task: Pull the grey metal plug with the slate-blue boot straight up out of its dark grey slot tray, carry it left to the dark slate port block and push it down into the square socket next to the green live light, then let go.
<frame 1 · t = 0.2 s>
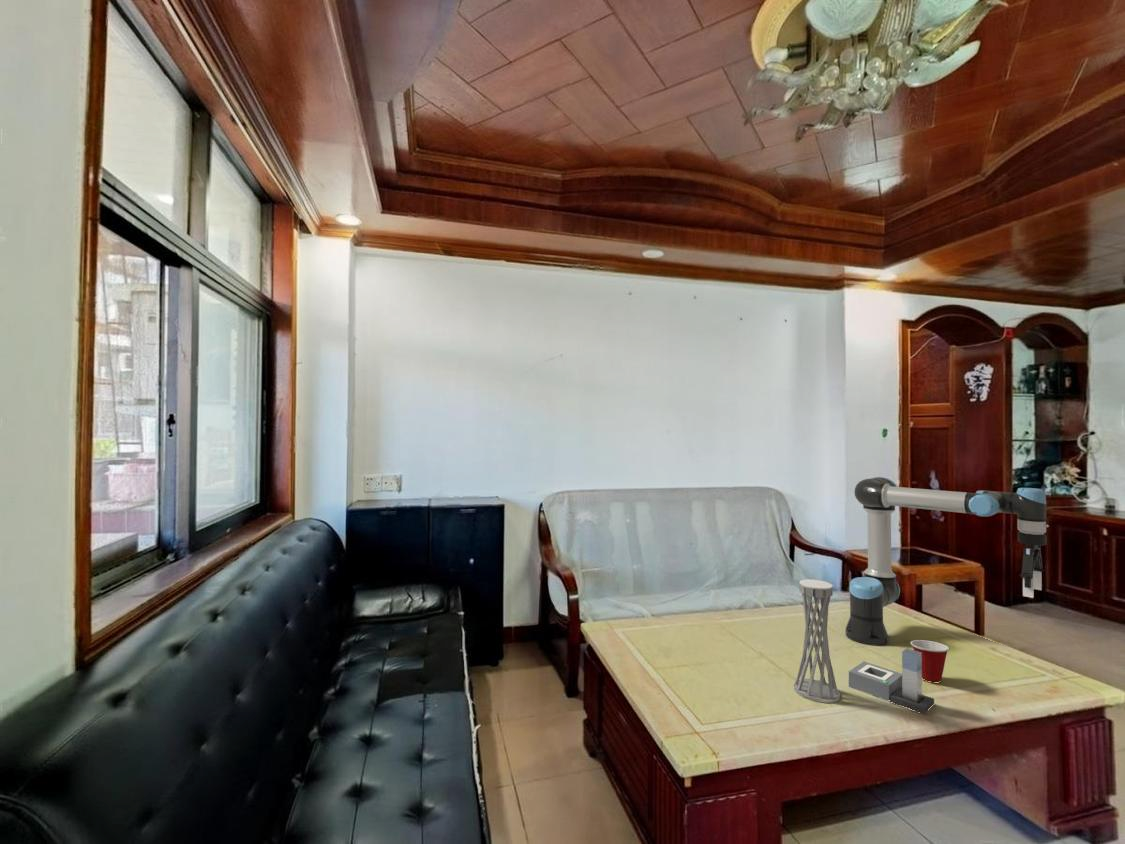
hand: (1032, 593, 182), 28 cm above the table, fingers open, 13 cm apart
plastic cup: (929, 679, 177), on the table
plug: (912, 700, 161), point 1 cm above the table, touching dark grey slot tray
grey tall lattice tower: (816, 692, 168), on the table
dark grey slot tray: (912, 703, 161), on the table
port: (875, 687, 171), on the table
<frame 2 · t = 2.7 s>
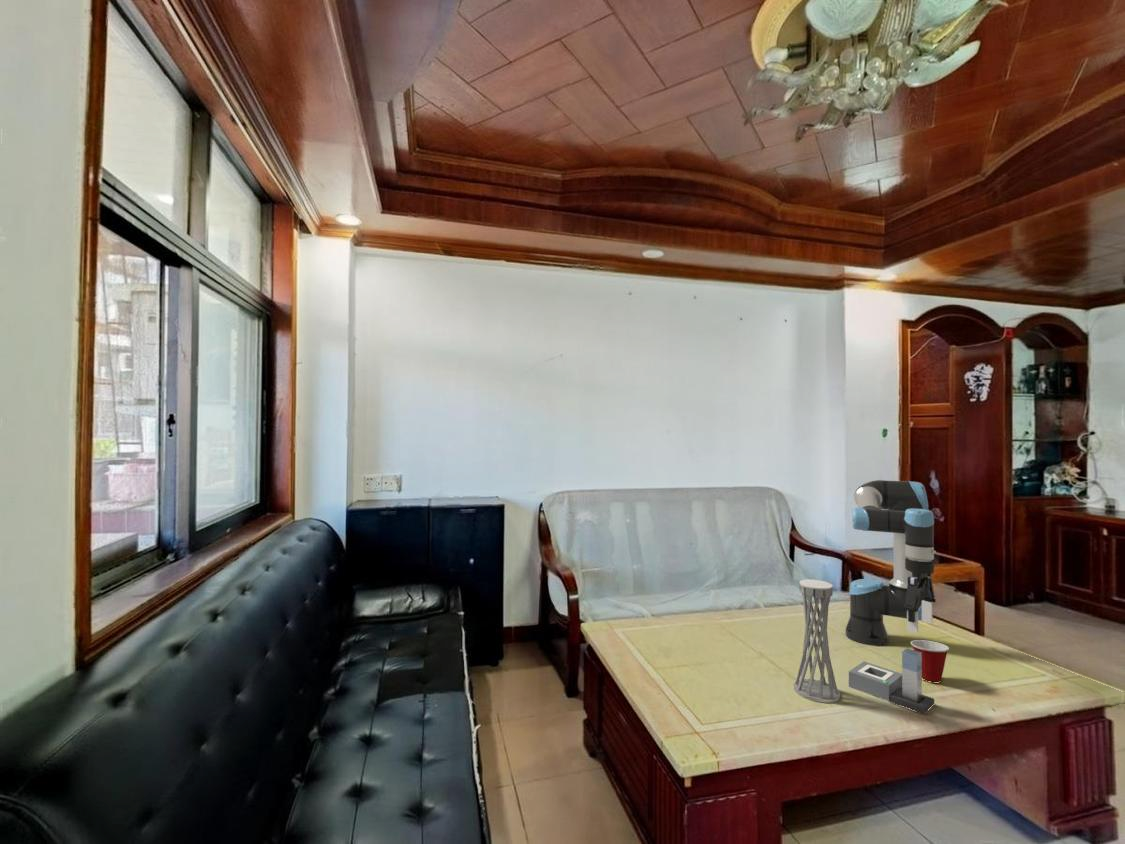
hand: (920, 627, 162), 23 cm above the table, fingers open, 13 cm apart
nothing on the table moved.
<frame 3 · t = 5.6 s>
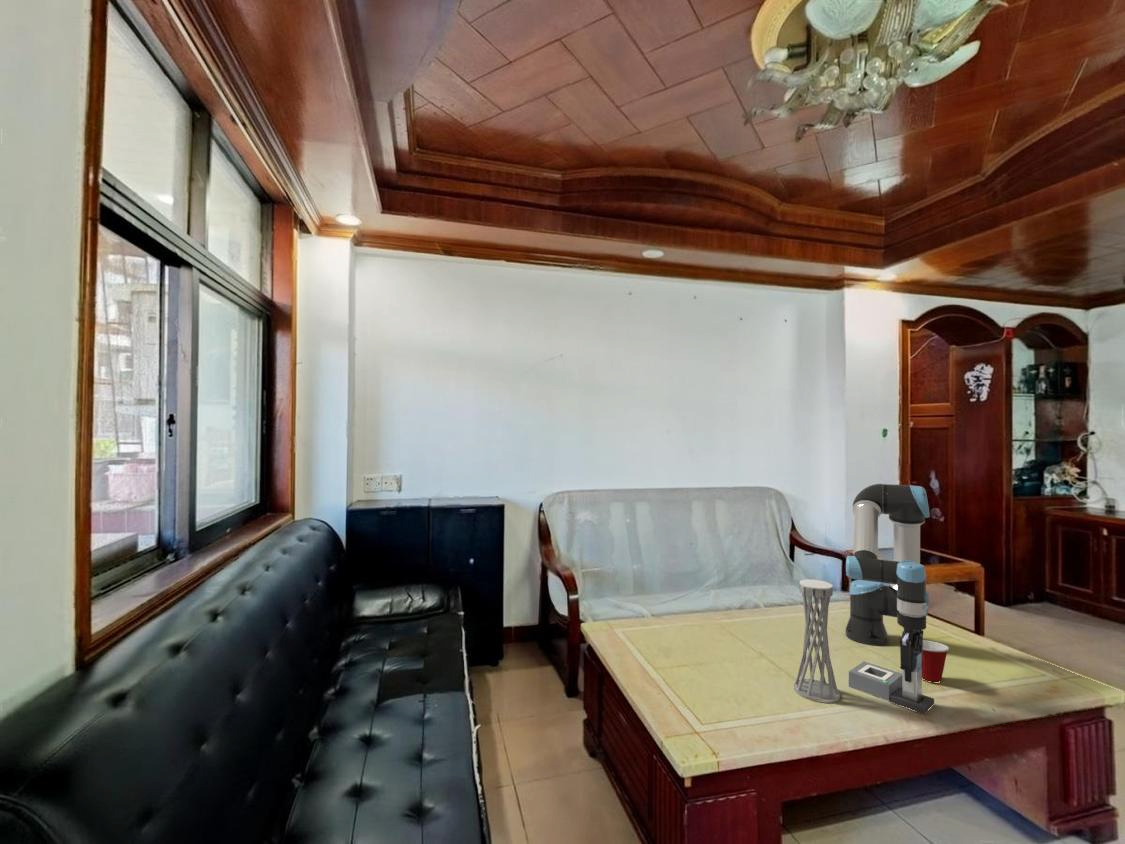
hand: (912, 688, 161), 5 cm above the table, fingers closed on plug, 4 cm apart
plug: (912, 700, 161), point 1 cm above the table, touching gripper, dark grey slot tray
everything else where it was.
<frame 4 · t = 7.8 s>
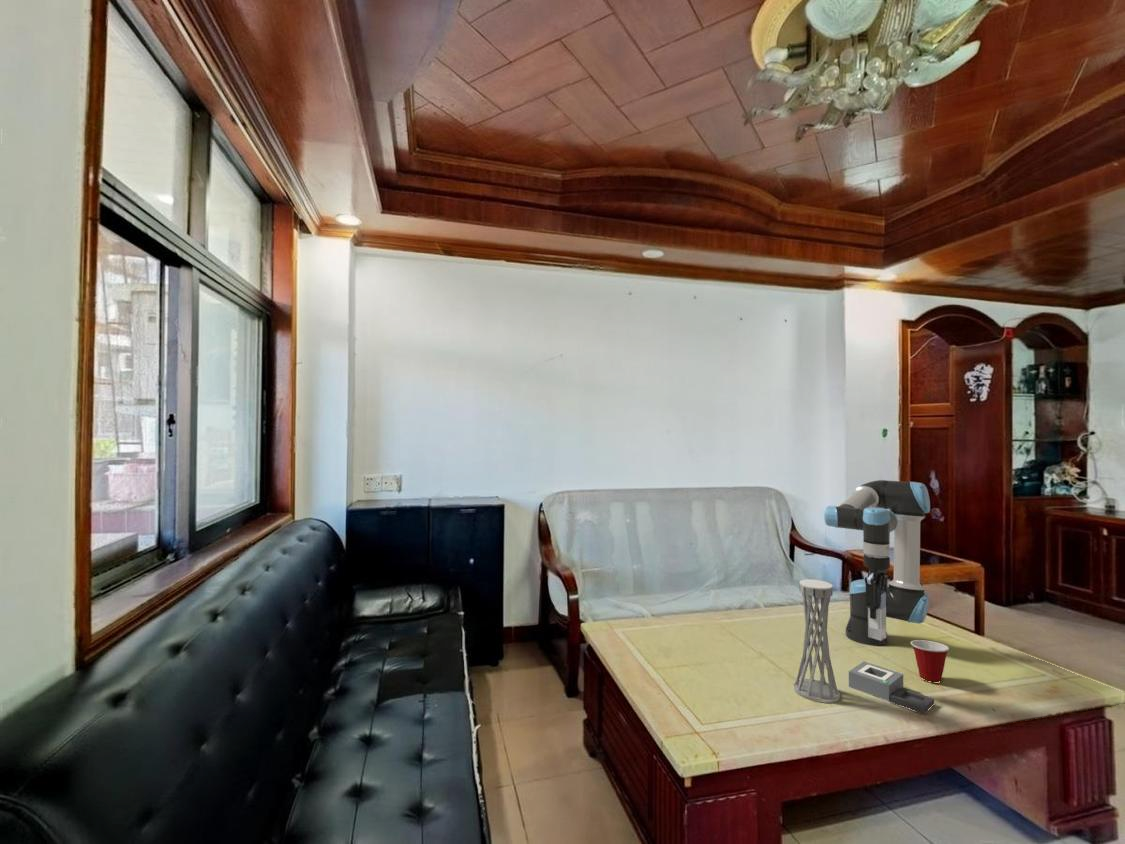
hand: (877, 626, 171), 20 cm above the table, fingers closed on plug, 4 cm apart
plug: (877, 637, 171), point 17 cm above the table, touching gripper
everything else where it was.
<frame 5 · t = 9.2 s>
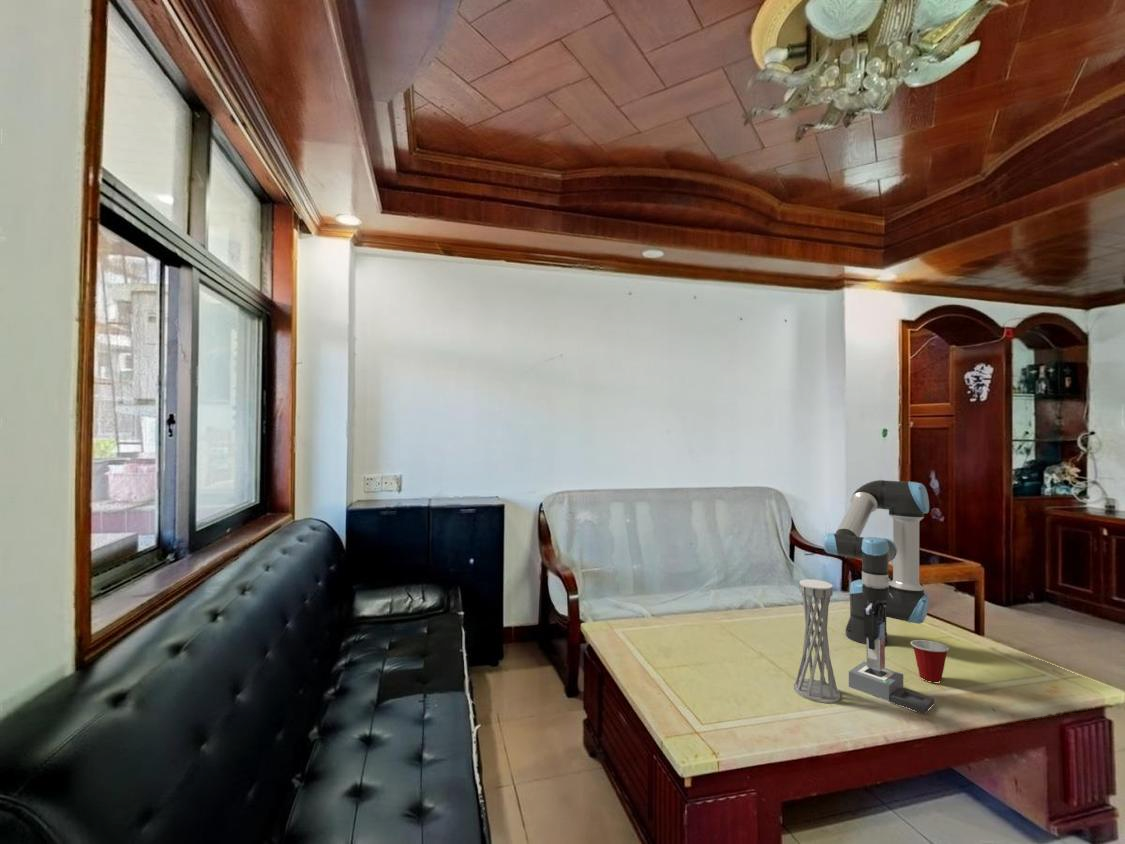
hand: (875, 656, 171), 10 cm above the table, fingers closed on plug, 4 cm apart
plug: (875, 667, 171), point 7 cm above the table, touching gripper
everything else where it was.
when the fingers open (7 cm above the table, at t = 10.1 s): plug drops 2 cm, resting on port.
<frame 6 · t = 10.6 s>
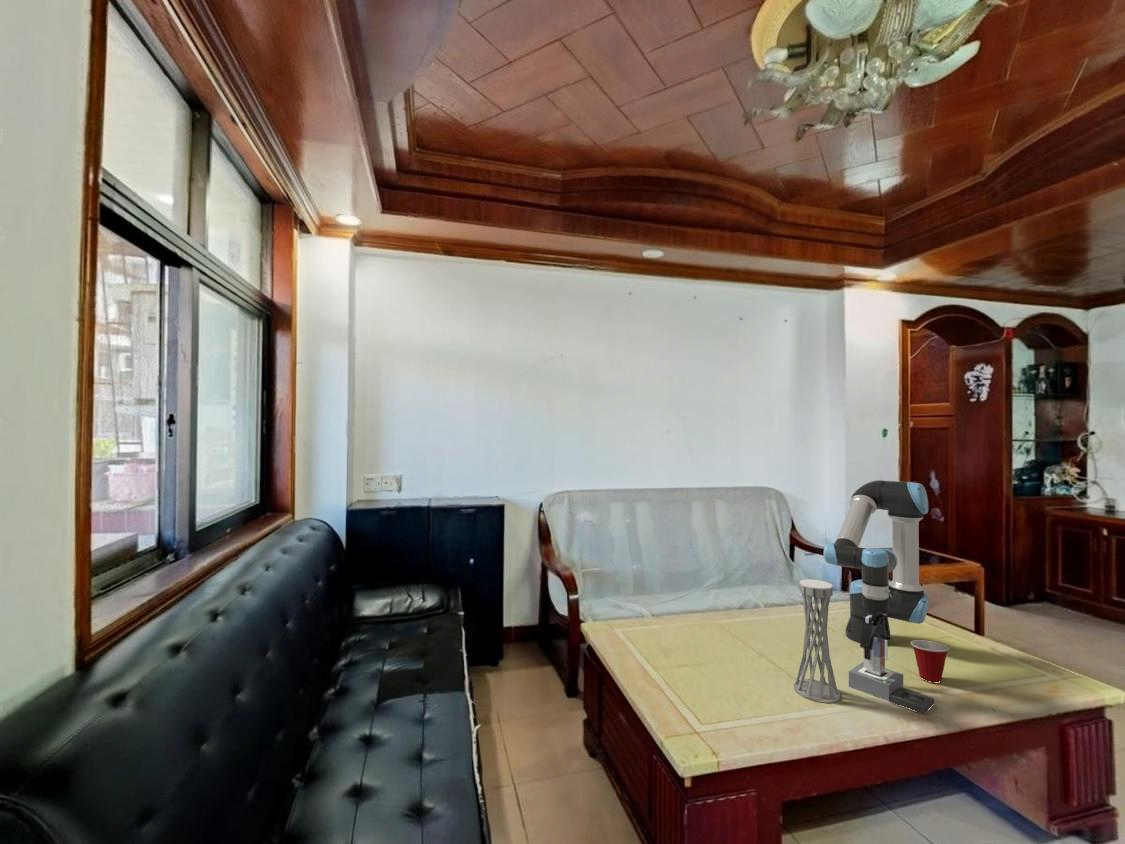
hand: (875, 663, 171), 8 cm above the table, fingers open, 11 cm apart
plug: (875, 684, 171), point 1 cm above the table, touching port
everything else where it was.
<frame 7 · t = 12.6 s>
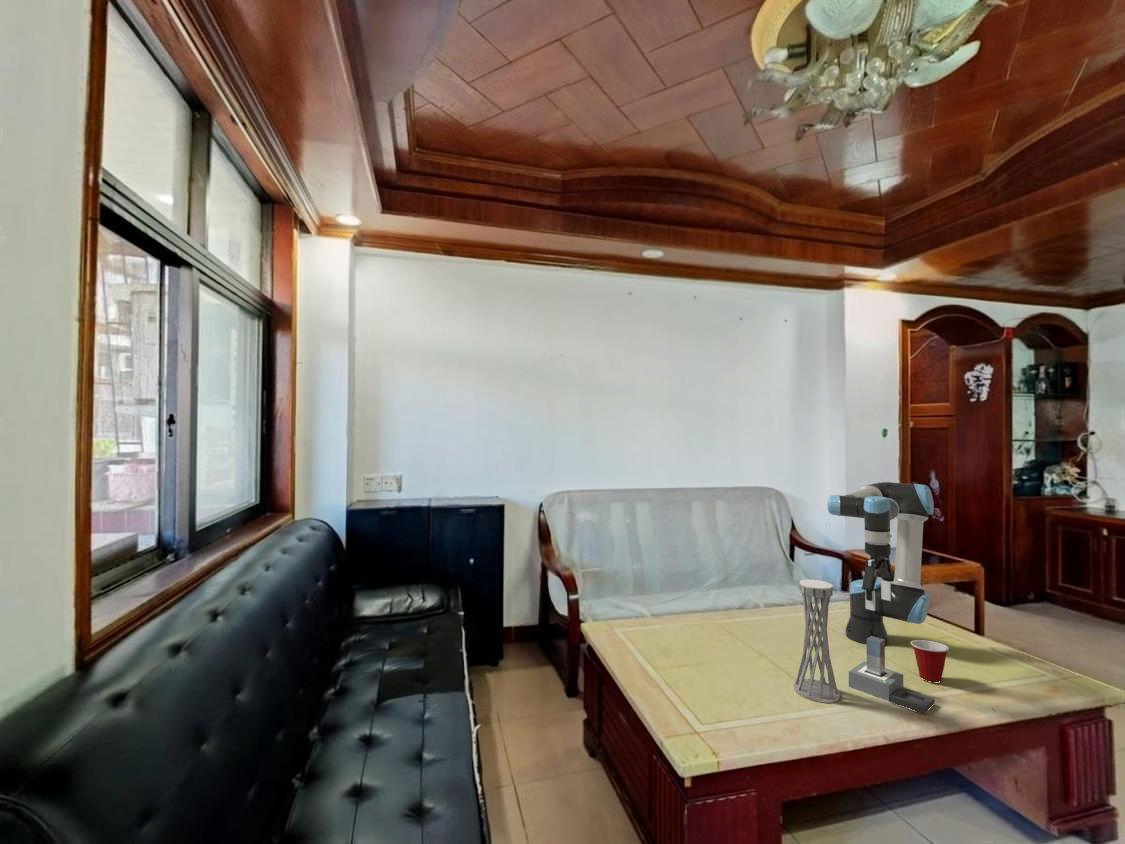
hand: (878, 604, 177), 26 cm above the table, fingers open, 13 cm apart
nothing on the table moved.
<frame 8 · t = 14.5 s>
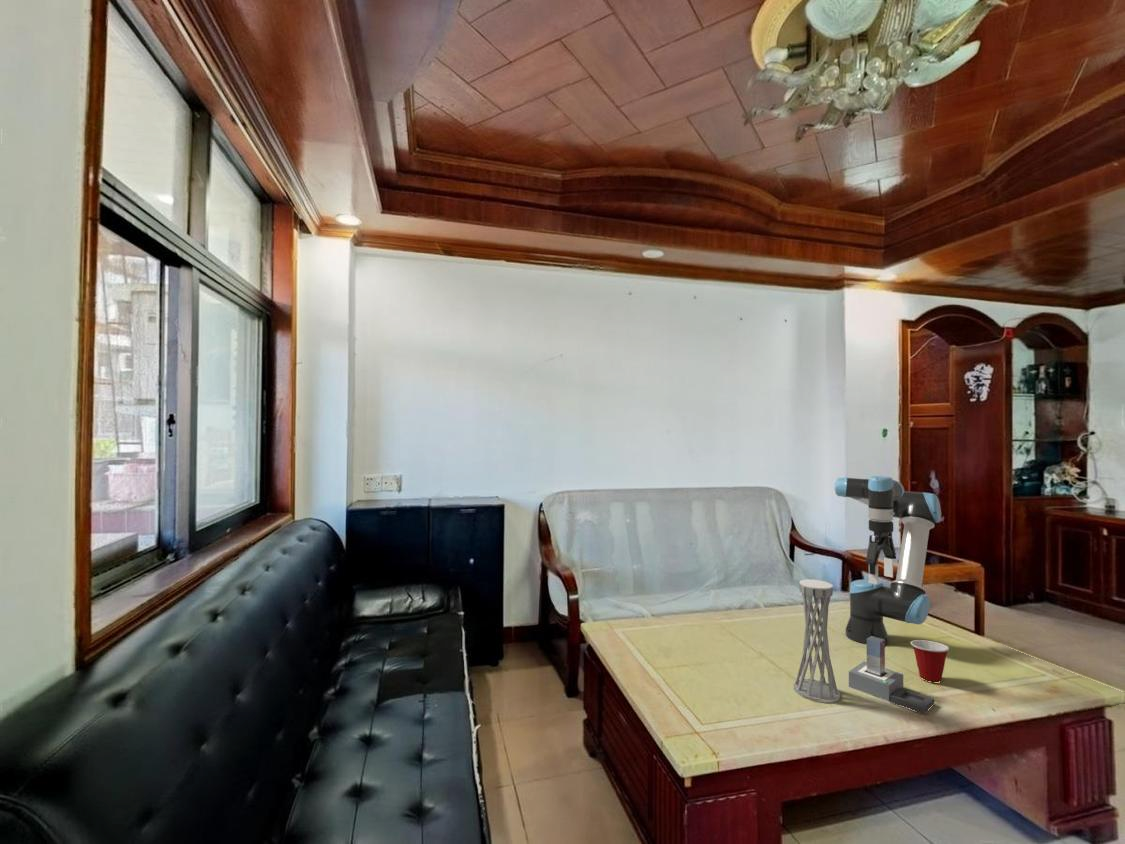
hand: (881, 580, 184), 32 cm above the table, fingers open, 13 cm apart
nothing on the table moved.
at the end: plug 0.0 cm off-centre on the port, point 1.0 cm above the port's base; plug tilted 0°; the gripper is holding nothing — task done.
